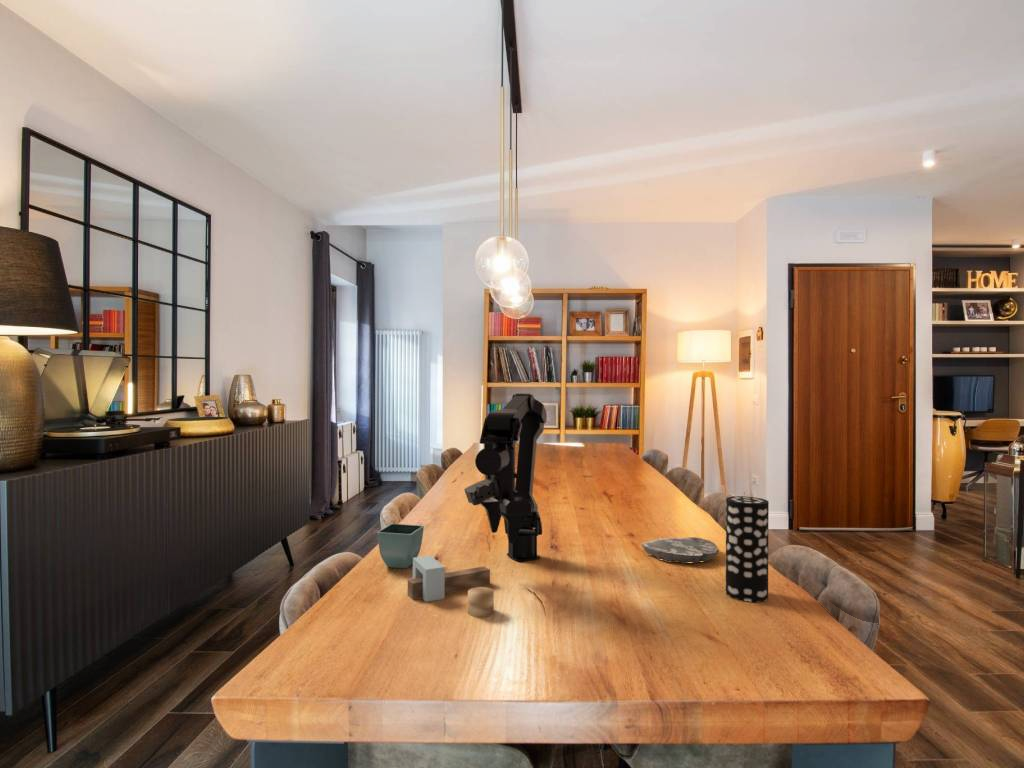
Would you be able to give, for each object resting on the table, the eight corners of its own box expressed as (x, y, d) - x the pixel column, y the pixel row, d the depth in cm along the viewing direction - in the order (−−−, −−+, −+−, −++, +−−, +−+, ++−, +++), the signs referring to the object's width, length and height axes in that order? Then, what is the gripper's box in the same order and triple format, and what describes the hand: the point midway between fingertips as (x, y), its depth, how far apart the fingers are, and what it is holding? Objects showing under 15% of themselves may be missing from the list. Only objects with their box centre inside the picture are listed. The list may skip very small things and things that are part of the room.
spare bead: (487, 605, 115) (487, 585, 115) (497, 614, 111) (498, 593, 111) (463, 609, 113) (463, 589, 113) (473, 619, 109) (473, 597, 109)
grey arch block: (430, 585, 127) (430, 555, 127) (444, 598, 119) (444, 567, 119) (412, 587, 125) (412, 557, 125) (425, 601, 117) (425, 569, 117)
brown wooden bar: (484, 582, 130) (484, 566, 130) (489, 586, 127) (490, 569, 127) (407, 596, 121) (407, 579, 121) (412, 601, 118) (412, 583, 118)
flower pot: (411, 572, 135) (411, 534, 135) (376, 569, 137) (376, 531, 137) (424, 561, 144) (424, 525, 144) (391, 559, 146) (391, 523, 146)
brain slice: (675, 571, 138) (676, 559, 138) (633, 553, 153) (633, 541, 153) (737, 562, 146) (737, 550, 146) (691, 545, 161) (691, 534, 161)
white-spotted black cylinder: (766, 590, 124) (766, 497, 124) (770, 604, 116) (770, 505, 116) (725, 586, 127) (725, 495, 127) (726, 599, 119) (726, 502, 119)
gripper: (454, 464, 135) (454, 531, 135) (485, 477, 118) (485, 553, 118) (498, 461, 139) (498, 526, 140) (533, 473, 122) (533, 547, 123)
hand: (502, 537), depth 130 cm, fingers open, 9 cm apart
